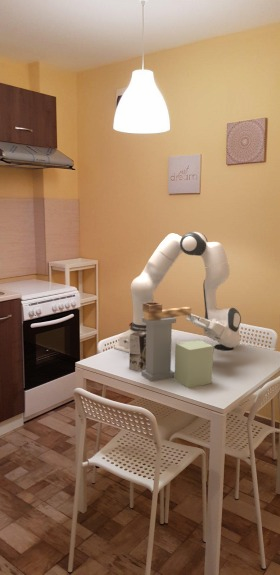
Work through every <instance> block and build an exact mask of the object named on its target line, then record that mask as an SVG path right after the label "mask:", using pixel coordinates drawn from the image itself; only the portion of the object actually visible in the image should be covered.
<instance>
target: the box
mask: <svg viewBox="0 0 280 575" xmlns="http://www.w3.org/2000/svg"><path fill="white" fill-rule="evenodd" d="M174 352H175V354H174V356H175V357H174V372H175V376H174V381H176V382H177V383H179V384H180V385H182V386H185V387H186V388H188V389H189V388H195V387H199V386H203V385H208V384H212V383H213V365H214V364H213V360H214V346H213V345H212V344H210V343H208V342H206V341H205V342H204V341H203V340H200V339H196V340H191V341H190V340H188V341H182V342H178V343H177V342H176V343H175V351H174Z"/></svg>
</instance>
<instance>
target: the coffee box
mask: <svg viewBox="0 0 280 575" xmlns="http://www.w3.org/2000/svg"><path fill="white" fill-rule="evenodd" d="M128 367H129V369H132V370H134V371H139V372H141V371H144V370H146V331H140V330H139V331H137V332H135V333H132V334H130V353H129V366H128Z"/></svg>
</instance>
